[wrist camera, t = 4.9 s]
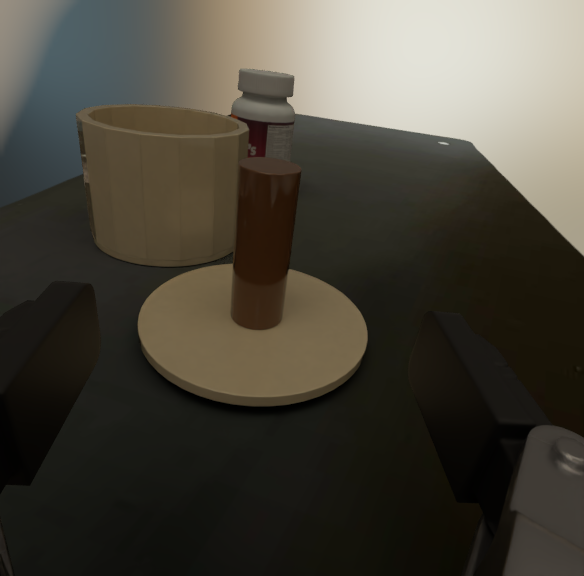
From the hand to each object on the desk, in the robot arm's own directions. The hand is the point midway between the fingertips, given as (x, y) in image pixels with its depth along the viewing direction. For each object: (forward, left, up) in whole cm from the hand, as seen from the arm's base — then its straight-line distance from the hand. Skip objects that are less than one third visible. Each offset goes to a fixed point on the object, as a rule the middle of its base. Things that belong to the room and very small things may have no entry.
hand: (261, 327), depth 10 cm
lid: (+5, +9, -7) cm, 13 cm away
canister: (+5, +23, -8) cm, 25 cm away
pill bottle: (+17, +31, -8) cm, 36 cm away
